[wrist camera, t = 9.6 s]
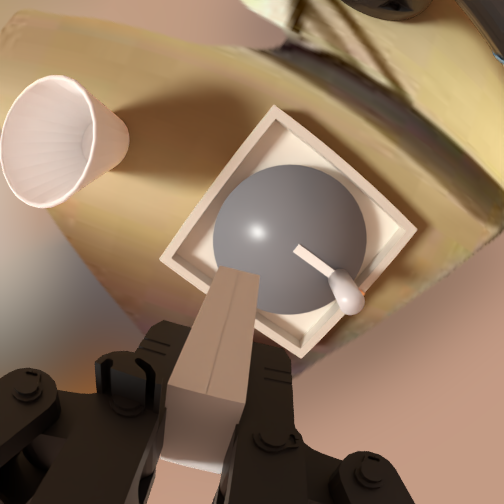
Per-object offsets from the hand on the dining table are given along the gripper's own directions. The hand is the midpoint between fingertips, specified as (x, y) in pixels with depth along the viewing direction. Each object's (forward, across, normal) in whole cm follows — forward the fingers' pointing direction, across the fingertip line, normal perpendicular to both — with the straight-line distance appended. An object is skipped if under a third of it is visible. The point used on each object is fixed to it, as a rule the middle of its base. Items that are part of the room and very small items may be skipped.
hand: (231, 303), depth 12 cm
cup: (+24, -19, +3) cm, 31 cm away
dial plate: (+24, +4, -3) cm, 25 cm away
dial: (+23, +4, -3) cm, 24 cm away
